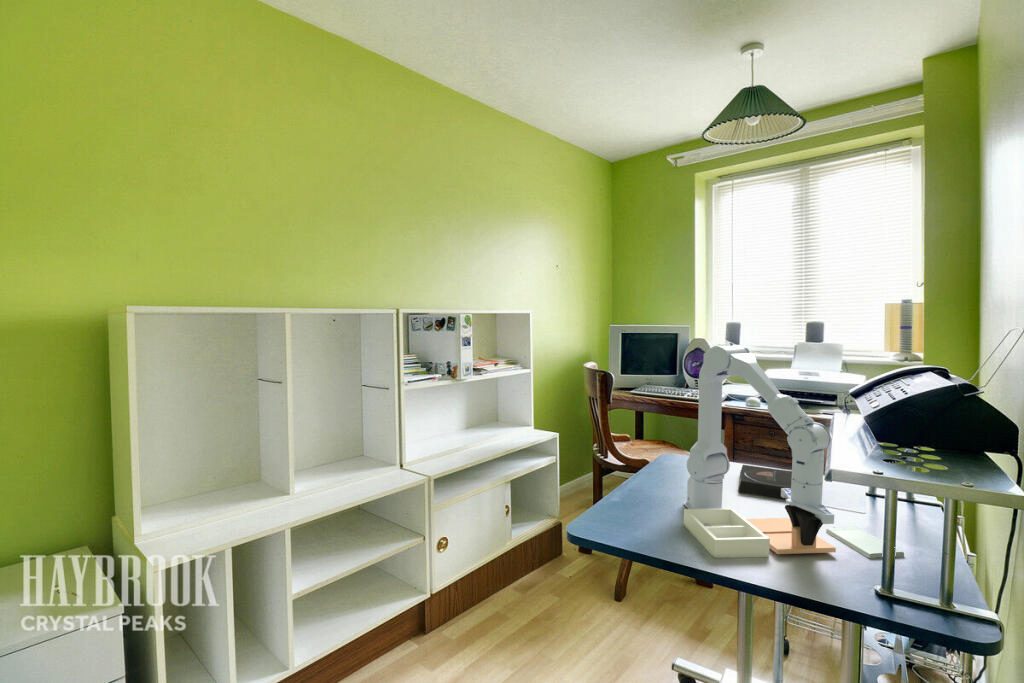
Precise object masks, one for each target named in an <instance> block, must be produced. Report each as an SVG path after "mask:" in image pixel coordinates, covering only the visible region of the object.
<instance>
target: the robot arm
mask: <svg viewBox="0 0 1024 683" xmlns="http://www.w3.org/2000/svg"><path fill="white" fill-rule="evenodd" d="M730 376H735V377H739V378H743V379H744V380H745V381H746V382H747V383H748V384H749V385H750V386H751V387H752V388H753V389H754V390H755V391H756V392H757V393H758V394H759V396H760V397H762V398H763V400H764V401H765V402H766V403H767V412H768V413H769V414H770V415H771V416H772V418H773V419H774V420H775V421H776V423H777V424H778V425H779V426H780V428H781V429H782V430H783V431H784V432H785V433H786V435H787V437H786V440H787V444H788V446H789V447H790V450H791V457H792V464H791V465H792V466H791V471H792V481H791V489H790V488H781V497H783V498H787V499H786V500H785V503H786V505H785V506H784V509H785V511H786V512H787V514H788V517H789V519H790V520H791V523H792V527H800V531H801V542H802V545H804V546H812V545H813V543H814V541H815V538H816V536H817V535H818V533H819V531H820V530H821V528H822V526H823V525H834V524H835V514H834V513H832V512H831V511H830V509H829V508H828V507H827V506H826V505H825V504H824V503H823V485H824V484H823V483H824V468H825V467H824V465H825V449H826V448H828V447H829V445H830V444H831V440H832V438H831V434H830V432H829V430H828V429H827V427H826V425H824V424H822V423H820V422H816V421H815V419H813V417H811V416H809V415H808V414H807V413H806V412H805V411H804V410H803V409H802V408H801V406H800V404H799V403H800V402H799V401H798V400H797V398H796V397H792V396H791V395H787V394H783V393H781V392H780V391H779V389H778V388H777V386H776V385H775V384H774V383H773V382H772V380H771V378H770V377H769V376H768V375H767V373H766V372H765V371H764V370H763V369H762V367H761V366H760V365H759V363H758V361H757V357H756V355H755V354H753V353H752V352H751V351H750V349H749V348H748V347H747V346H746V345H743V344H736V345H722V346H721V345H715V346H711V347H710V348H709V349H708V350H706V351H705V352H704V353H703V362H702V365H701V368H700V370H699V374H698V409H697V410H698V413H697V414H698V415H697V416H698V418H697V419H698V421H697V441H696V442H695V443H694V444H693V445H692V447H691V448H690V449H689V457H687V458H688V459H687V461H686V469H687V472H688V474H689V475H690V476H689V477H688V478H687V489H686V501H683V505H684V506H685V507H686V509H708V508H723V488H724V487H723V485H724V484H723V483H724V482H723V481H724V479H725V475H726V474H727V473H729V471H730V467H731V463H730V460H729V457H728V448H727V447H726V445H724V444H723V442H722V414H723V413H722V412H723V411H722V408H723V406H722V403H723V401H722V400H723V396H722V395H723V382H724V381H725V380H727V379H728V378H729V377H730Z"/></svg>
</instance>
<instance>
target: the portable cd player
mask: <svg viewBox="0 0 1024 683" xmlns="http://www.w3.org/2000/svg"><path fill="white" fill-rule="evenodd" d="M739 472H740V473H739V479H738V480H739V481H738V482H739V483H738V491H739V493H740V494H746V495H753V496H758V497H765V498H771V499H777V500H782V501H783V500H784V501H786V499H787V498H783V497H781V488H790V489H791V481H792V470H785V469H779V468H772V467H771V468H770V467H763V466H762V467H761V466H757V465H756V466H755V465H747V464H742V466H741V470H740V471H739Z"/></svg>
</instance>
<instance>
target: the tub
mask: <svg viewBox="0 0 1024 683" xmlns="http://www.w3.org/2000/svg"><path fill="white" fill-rule="evenodd" d="M746 519H747V518H745V517H744V516H742V514H740V513H739V512H737V511H736V510H735V509H734V508H732V507H722V508H708V509H688V508H683V526H684V527H685V528H686V530H688V532H689V533H690V534H691V535H692V536H693V537H694V538H695V539H696V540H697V541H698V542H699V544H701V546H702V547H703V548H704V549H705V550H706V551H707V552H708V554H709V555H711V556H712V557H713V559H728V558H729V559H731V558H733V559H736V558H738V559H740V558H741V559H742V558H768V557H770V548H769V547H770V538H769V537H767V536H766V535H765V534H764V533H762V532H761V531H760V530H759V529H757V528H756V527H755V526H754V525H752V524H751V523H750V522H749V521H747V520H746Z"/></svg>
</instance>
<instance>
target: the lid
mask: <svg viewBox="0 0 1024 683" xmlns="http://www.w3.org/2000/svg"><path fill="white" fill-rule="evenodd" d="M745 519H746V520H747V521H749V522H750V523H751V524H752V525H754V526H755V527H756V528H757V529H759V530H760V531H761V532H762V533H764V534H765V535H766V536H767V537H769V538H770V547H769V550H772V551H773V553H775V554H777V555H789V554H790V555H791V554H793V555H794V554H796V555H797V554H823V553H829V554H830V553H836V547H835V546H834V545H832V544H830V543H829V542H827V541H826V540H825V539H822V538H820V537H819V536H817V535H816V538H815V541H814V543H813V545H812V546H804V545H802V542H801V531H800V527H792V523H791V520H790V518H788V517H777V518H775V517H774V518H773V517H772V518H771V517H770V518H745Z"/></svg>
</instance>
